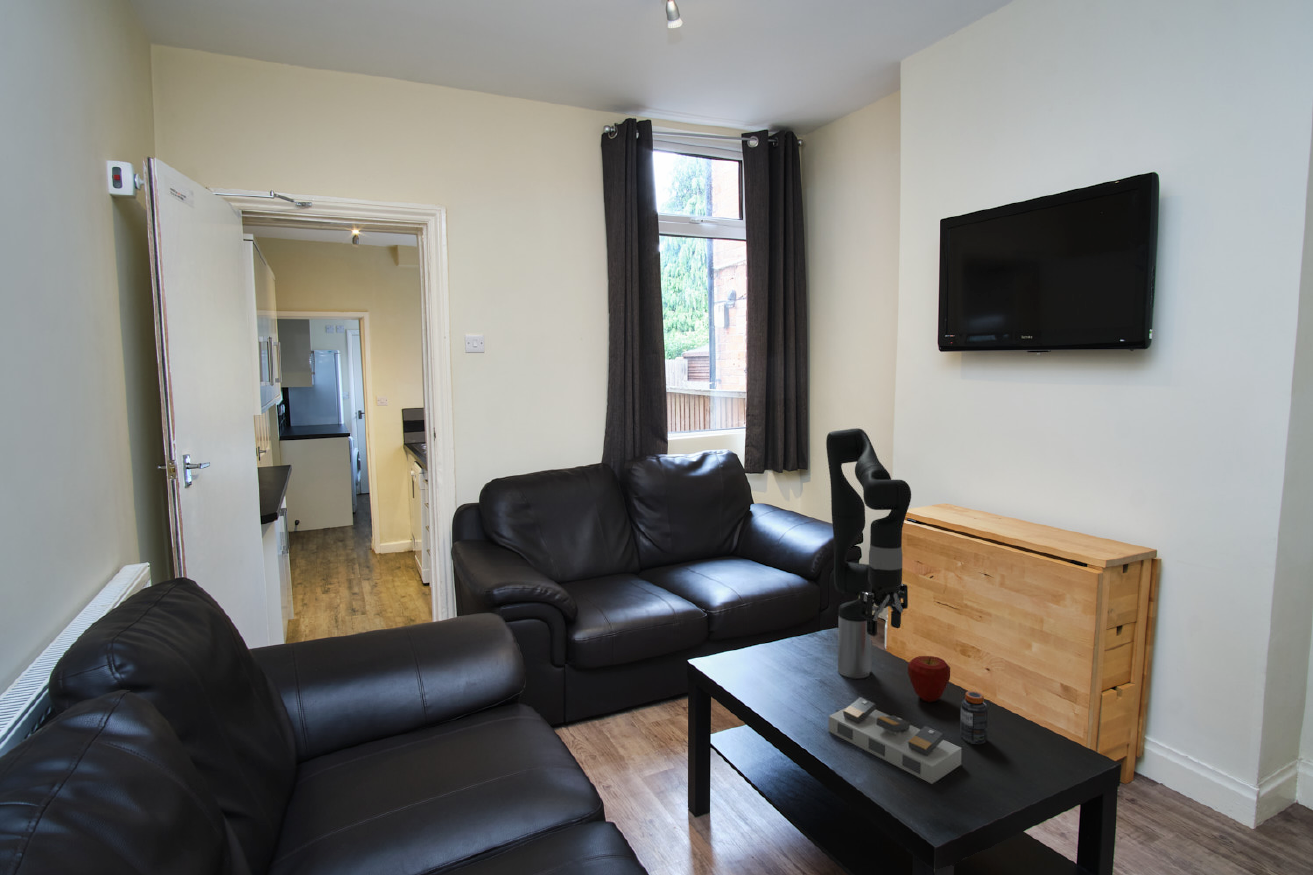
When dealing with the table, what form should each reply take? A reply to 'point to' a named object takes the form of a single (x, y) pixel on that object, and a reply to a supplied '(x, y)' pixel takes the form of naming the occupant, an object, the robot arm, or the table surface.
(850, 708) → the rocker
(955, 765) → the power strip
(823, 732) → the table surface
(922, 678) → the apple
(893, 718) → the block
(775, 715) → the table surface
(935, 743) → the rocker
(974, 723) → the pill bottle
